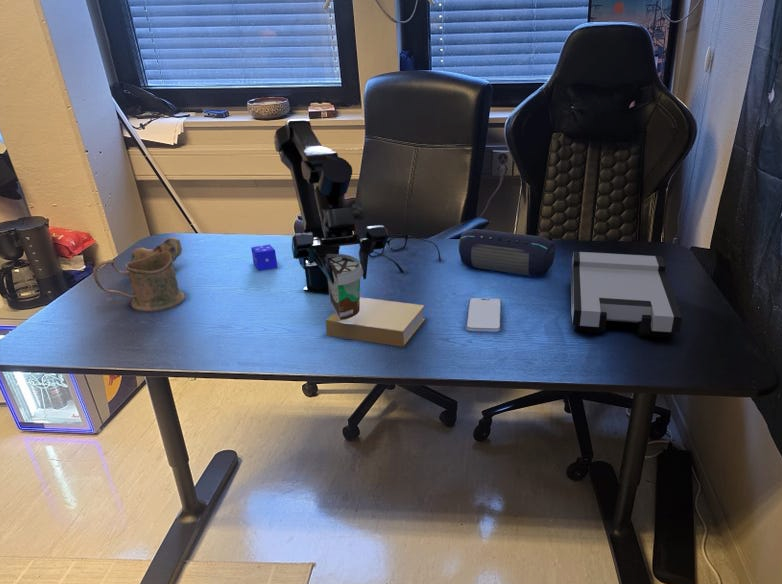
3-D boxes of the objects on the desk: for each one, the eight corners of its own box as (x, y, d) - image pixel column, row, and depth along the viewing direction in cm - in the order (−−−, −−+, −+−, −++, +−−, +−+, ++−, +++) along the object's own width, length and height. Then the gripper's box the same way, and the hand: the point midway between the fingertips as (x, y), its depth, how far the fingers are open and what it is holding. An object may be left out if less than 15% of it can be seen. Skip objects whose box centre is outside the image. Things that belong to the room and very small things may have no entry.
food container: (372, 318, 124) (369, 271, 119) (341, 323, 122) (337, 275, 117) (357, 294, 134) (354, 250, 129) (328, 298, 132) (324, 253, 127)
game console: (570, 341, 128) (574, 304, 125) (570, 283, 156) (573, 251, 152) (675, 349, 126) (683, 311, 122) (656, 288, 153) (661, 256, 149)
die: (258, 271, 163) (255, 252, 161) (253, 265, 167) (250, 247, 164) (277, 267, 165) (275, 249, 163) (272, 262, 169) (269, 244, 167)
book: (326, 335, 131) (325, 320, 129) (353, 310, 142) (352, 296, 140) (403, 347, 126) (402, 331, 125) (424, 319, 137) (424, 305, 136)
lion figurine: (188, 267, 166) (181, 234, 161) (185, 274, 161) (178, 240, 157) (128, 271, 163) (119, 237, 158) (123, 279, 158) (114, 244, 154)
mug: (95, 309, 142) (80, 258, 136) (170, 287, 153) (159, 239, 148) (117, 324, 135) (102, 272, 129) (194, 300, 147) (183, 251, 141)
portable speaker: (452, 270, 164) (452, 233, 159) (465, 258, 172) (466, 222, 167) (546, 284, 156) (550, 245, 151) (556, 270, 164) (559, 233, 159)
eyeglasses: (408, 245, 181) (408, 232, 179) (445, 259, 171) (445, 245, 169) (362, 259, 171) (361, 245, 169) (398, 274, 161) (397, 259, 159)
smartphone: (465, 327, 132) (469, 297, 145) (465, 332, 133) (469, 302, 146) (500, 328, 132) (501, 298, 145) (500, 333, 132) (501, 303, 145)
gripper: (286, 193, 116) (302, 269, 113) (384, 184, 122) (402, 257, 119) (285, 222, 127) (300, 293, 123) (375, 213, 132) (392, 280, 129)
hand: (349, 280), depth 123 cm, fingers closed on food container, 6 cm apart
